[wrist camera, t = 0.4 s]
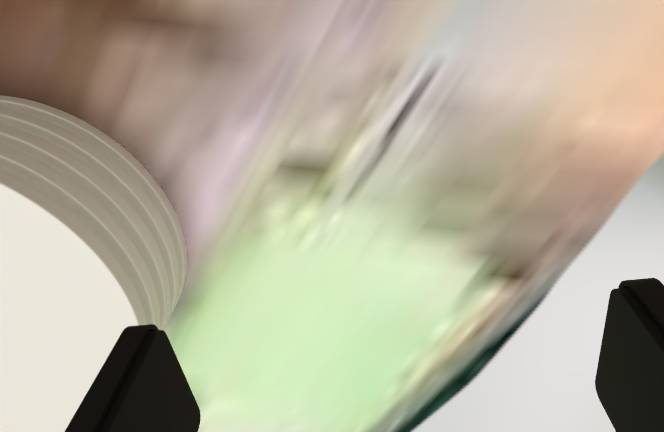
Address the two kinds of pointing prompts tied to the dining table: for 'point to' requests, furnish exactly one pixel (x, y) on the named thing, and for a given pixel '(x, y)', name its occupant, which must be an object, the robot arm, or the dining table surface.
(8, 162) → the plate stack
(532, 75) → the dining table surface
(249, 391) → the dining table surface
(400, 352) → the dining table surface
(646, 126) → the dining table surface
